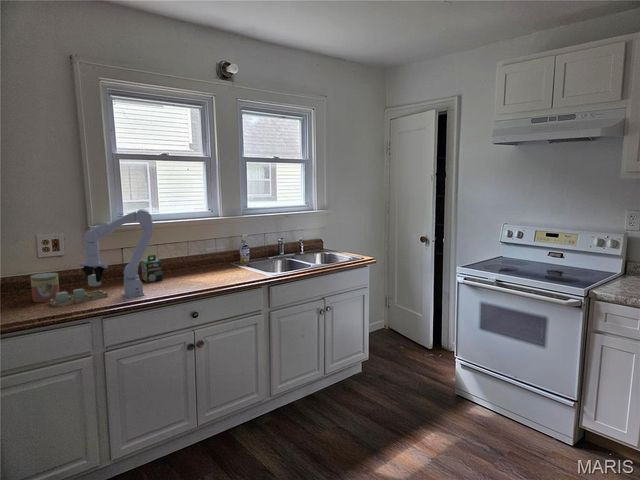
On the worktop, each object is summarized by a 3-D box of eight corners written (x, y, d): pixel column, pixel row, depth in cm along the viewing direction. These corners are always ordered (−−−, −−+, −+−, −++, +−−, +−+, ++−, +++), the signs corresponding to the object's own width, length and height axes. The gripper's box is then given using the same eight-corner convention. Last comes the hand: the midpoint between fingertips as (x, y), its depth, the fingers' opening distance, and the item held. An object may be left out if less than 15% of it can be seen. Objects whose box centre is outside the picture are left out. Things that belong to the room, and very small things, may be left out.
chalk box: (157, 277, 248) (156, 253, 246) (163, 280, 242) (162, 255, 239) (141, 279, 242) (140, 254, 240) (147, 282, 235) (145, 257, 233)
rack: (107, 297, 206) (107, 293, 205) (56, 307, 189) (55, 302, 188) (100, 294, 211) (100, 290, 211) (50, 303, 194) (49, 299, 194)
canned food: (32, 304, 194) (30, 279, 192) (32, 298, 203) (29, 274, 201) (61, 300, 200) (59, 276, 198) (59, 294, 209) (57, 271, 207)
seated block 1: (69, 303, 195) (68, 292, 194) (59, 305, 192) (58, 294, 191) (66, 301, 197) (65, 291, 196) (56, 303, 194) (55, 293, 193)
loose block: (101, 284, 206) (100, 274, 205) (95, 286, 202) (95, 276, 201) (94, 283, 207) (93, 274, 206) (88, 285, 203) (87, 275, 202)
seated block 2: (85, 299, 200) (85, 289, 199) (76, 301, 197) (75, 291, 196) (82, 298, 203) (81, 288, 202) (73, 299, 200) (72, 289, 199)
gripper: (111, 253, 205) (113, 280, 207) (85, 252, 207) (87, 278, 209) (101, 256, 198) (103, 283, 200) (74, 254, 200) (76, 282, 202)
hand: (94, 281), depth 204 cm, fingers closed on loose block, 4 cm apart
